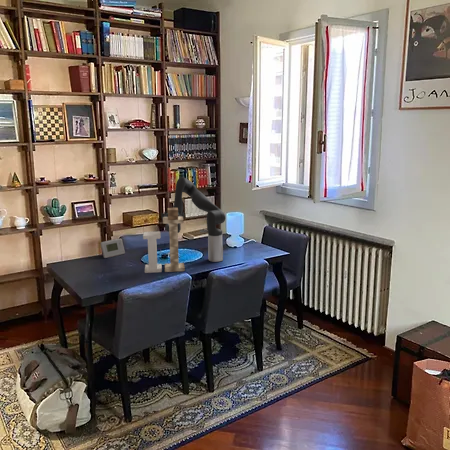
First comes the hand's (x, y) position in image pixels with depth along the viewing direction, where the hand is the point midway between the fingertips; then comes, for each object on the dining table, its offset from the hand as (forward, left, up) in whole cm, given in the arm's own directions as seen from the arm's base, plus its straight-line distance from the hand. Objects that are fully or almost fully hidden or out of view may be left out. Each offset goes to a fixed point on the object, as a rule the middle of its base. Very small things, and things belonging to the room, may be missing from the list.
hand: (172, 212), depth 287 cm
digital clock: (+41, -26, -34) cm, 60 cm away
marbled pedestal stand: (0, +9, -34) cm, 35 cm away
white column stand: (+13, +9, -34) cm, 37 cm away
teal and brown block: (0, +3, -2) cm, 3 cm away
